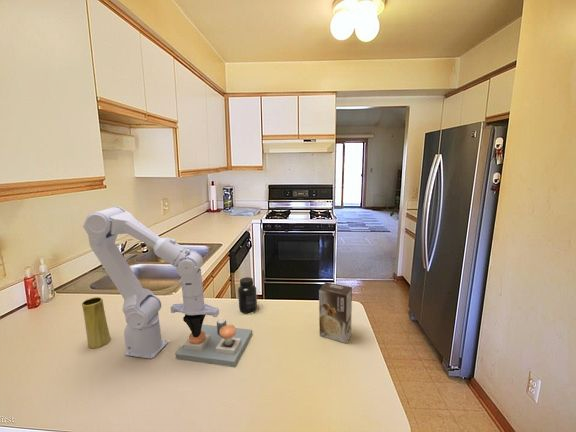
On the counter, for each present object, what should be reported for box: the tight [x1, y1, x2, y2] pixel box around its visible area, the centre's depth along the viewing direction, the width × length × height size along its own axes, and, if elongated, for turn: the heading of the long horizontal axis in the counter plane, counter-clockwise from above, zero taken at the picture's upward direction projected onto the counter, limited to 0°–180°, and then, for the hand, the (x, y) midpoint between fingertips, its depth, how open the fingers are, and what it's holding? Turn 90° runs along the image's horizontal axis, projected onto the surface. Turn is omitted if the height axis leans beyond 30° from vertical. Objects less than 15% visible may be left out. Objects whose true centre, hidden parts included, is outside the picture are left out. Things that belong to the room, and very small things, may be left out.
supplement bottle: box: [237, 276, 258, 315], centre depth 107 cm, size 7×7×12 cm
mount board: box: [174, 323, 253, 368], centre depth 88 cm, size 18×15×3 cm
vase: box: [81, 296, 111, 349], centre depth 89 cm, size 6×6×14 cm
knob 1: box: [188, 331, 205, 344], centre depth 87 cm, size 5×5×4 cm
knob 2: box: [219, 324, 237, 345], centre depth 84 cm, size 5×5×4 cm
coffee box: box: [318, 282, 353, 344], centre depth 91 cm, size 9×6×16 cm
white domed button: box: [216, 318, 228, 335], centre depth 91 cm, size 3×3×4 cm
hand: (197, 335), depth 86 cm, fingers closed, pressing on knob 1
